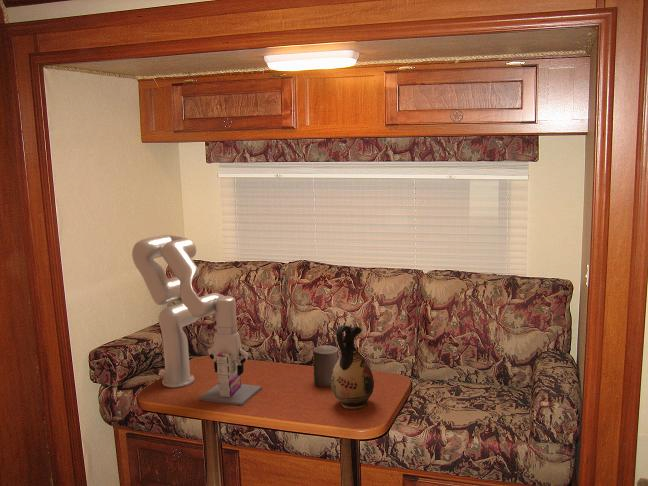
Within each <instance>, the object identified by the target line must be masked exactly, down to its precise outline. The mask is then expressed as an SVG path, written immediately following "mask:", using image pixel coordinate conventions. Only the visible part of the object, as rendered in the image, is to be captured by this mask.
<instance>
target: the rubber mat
mask: <svg viewBox="0 0 648 486" xmlns="http://www.w3.org/2000/svg"><path fill="white" fill-rule="evenodd" d="M262 388H263V387H262V385H252V384H246V383H245V384H244V383H241V387H240V388H239V389H238V390H237V391H236V392H235V393H234V394H233V396H232V397H220V396H219V385H218V383H217V384H216V385H214V386H213V387H211V388H210V389H208V390H207V391H206V392H205V393H203V394H202V395H201V396H199V398H198V399H199V401H204V402H213V403H219V404H228V405H235V406H244V405H245V404H246V403H247V402H248V401H250V399H252V398H253V397H254V396H255V395H257V394H258V393H259V392H260V391H262V390H263V389H262Z"/></svg>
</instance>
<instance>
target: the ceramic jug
mask: <svg viewBox="0 0 648 486" xmlns="http://www.w3.org/2000/svg"><path fill="white" fill-rule="evenodd" d="M362 332H363V330H362V328H360V327H359V326H356V325H355V326H353V327H352V326H351V325H345V324H341V325H339V326H338V327H337V329H336V335H335V336H336V342H337V346H338V348H339V352H341V354H340V355H339V356H338V361H337V363H336V364H335V366H334V369H333V372H332V376H331V387H330V388H331V392H332V393H333V395H334V397H335V398H336V399H337V400H338V401H339V402H340V404H341V406H342V407H343V408H344V409H362V408H365V407H367V406H368V400H369V398H371V396H372V395H373V392H374V389H375V388H374V387H375V379H374V376H373V373H372V370H371V368H370V367H371V366H369V363H368V362H367V361H366V359H365V358H364V356H363V355H362V354H361V353H360V351H358V349H357V348H356V346H355V339H356V338H357V336H359V335H360V334H361V333H362ZM343 333H344V335H343ZM343 336H344V337H343Z"/></svg>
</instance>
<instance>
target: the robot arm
mask: <svg viewBox="0 0 648 486" xmlns="http://www.w3.org/2000/svg"><path fill="white" fill-rule="evenodd" d="M131 254H132V255H131V256H132V261H133V263H134V264H133V265H134V266H135V268H136V269H137V270H138V272H139V274H140V275H141V277H142V279H143V281H144V283H145V285H146V287H147V290H148V291H149V294H150V296H151V298H152V300H153V302H154V303H155V304H156V305H157V306H164V305H165V306H166V305H168V304H171V303H174V302H175V303H176V304H173V305H169V306H167V307H165V308H162V310H161V311H160V312H159V314H158V324H159V327H160V331H161V337H162V345H163V357H164V369H162V368H160V369H159V371H158V374H157V375H158V376H159V377H163V379H162V381H161V382H162V385H163V386H164V387H167V388H182V387H186V386H189V385H191V384H192V383H194V381H195V376H194V375H193V374H191V369H190V358H189V357H190V355H189V342H188V336H187V334H186V332H185V331H184V330H183V328H185V327H186V326H189V325H192V324H194V323H196V322H197V321H198V320H199V319H200V318H201V319H202V318H205V317H208V316H211V315H213V314H215V321H216V322H215V323H216V324H214V325H213V329H214V330H216V332H214V336H213V344H212V345H213V346H212V347H210V348H208V349H207V353H208V355H209V358H210V359H211V360H212V363H213V368H214V372H215V373H217V361H216V355H218V354H219V353H228V354H230V357H231V361H236V362H237V363H238V365H237V374H238V375H239V376H240V377H241V375H243V374H244V368H245V367H244V363H245V362H246V361H248V358H249V356H250V353H249V352H247V351H246V350H245V349H243V348H242V342H241V337H240V336H241V335H240V333H239V332H238V324H237V321H238V320H237V302H236V298H235V297H234V296H230V295H223V294H221V293H219V292H212V293H209V294H205V295H202V296H198V295H197V293H196V292H195V290H194V288H193V284H192V282H193V280H194V279H195V278H196V277H197V275H198V274H199V271H200V270H199V267H198V266H197V264H196V263H195V262H194V260H193V258H194V257H195V256H196V254H197V246H196V244H195V243H194V242H193V240H191V239H189V238H187V237H182V236H177V235H173V234H172V235H171V234H164V235H161V234H160V235H157V236H153V237H147V238H143V239H140V240H139V241H137V242H136V243H135V244H134V245H133V247H132V251H131ZM158 258H163V260H164V261H165V262H166V264H167V265H168V266H169V268H170V270H171V271H172V273H173V274H174V275H175V276H176V277H170V278H169V277H168V276H167V275H166V273H165V270H164V268H163V267H162V266H161V265H160V264H159V263H158V262H156V261H155V259H158ZM238 358H239V359H238ZM217 374H218V373H217Z"/></svg>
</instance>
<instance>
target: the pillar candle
mask: <svg viewBox="0 0 648 486" xmlns="http://www.w3.org/2000/svg"><path fill="white" fill-rule="evenodd" d="M338 352H339V351H338V347H336V346H334V345H319V346H316V347H314V348H313V352H312V353H313V357H312V359H313V384H314V385H315V386H318V387H320V388H331V376H332V372H333V369H334V366H335V364H336V363H337V361H338V359H339V356H338V354H339V353H338Z"/></svg>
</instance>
